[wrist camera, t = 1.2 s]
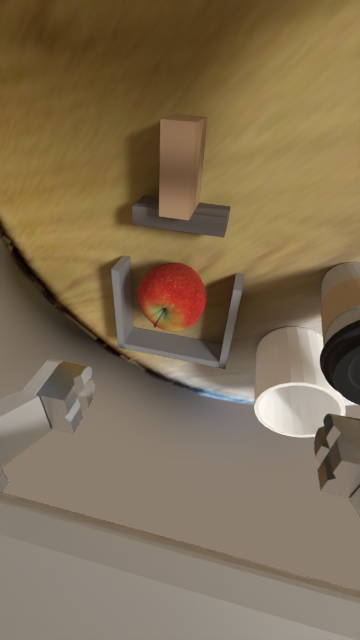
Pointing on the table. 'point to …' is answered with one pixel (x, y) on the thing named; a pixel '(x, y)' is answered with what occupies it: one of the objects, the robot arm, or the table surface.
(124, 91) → the table surface
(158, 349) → the tray
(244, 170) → the table surface
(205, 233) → the tan grey t-shaped block
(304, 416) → the mug
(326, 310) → the coffee cup
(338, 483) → the robot arm
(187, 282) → the apple
